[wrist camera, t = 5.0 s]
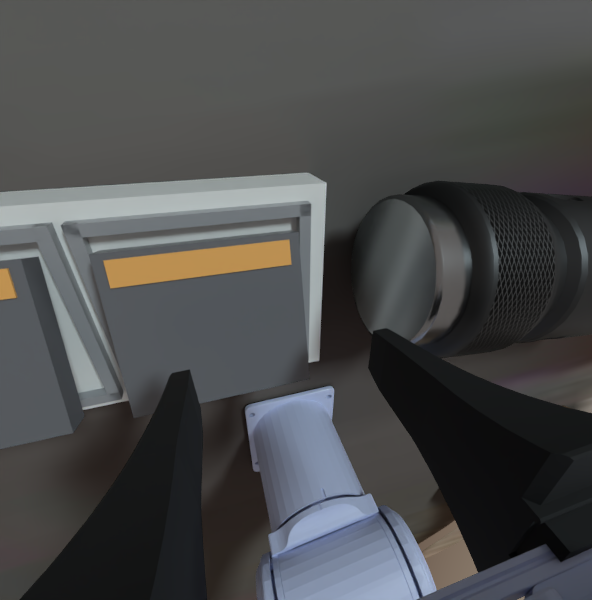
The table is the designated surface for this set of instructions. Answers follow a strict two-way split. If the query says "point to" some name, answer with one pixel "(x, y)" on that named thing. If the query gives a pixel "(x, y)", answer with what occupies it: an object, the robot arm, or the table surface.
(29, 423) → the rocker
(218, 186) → the switch panel
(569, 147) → the table surface
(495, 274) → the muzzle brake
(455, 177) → the table surface
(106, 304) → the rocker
